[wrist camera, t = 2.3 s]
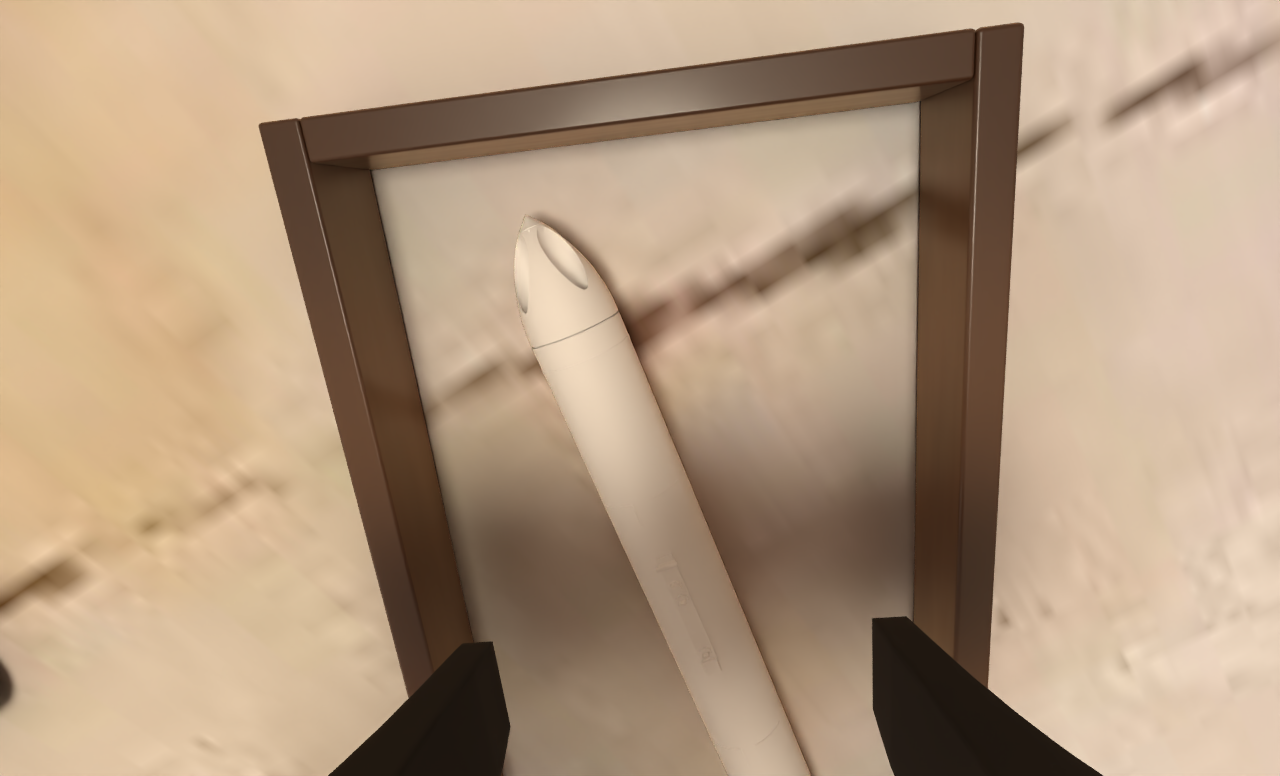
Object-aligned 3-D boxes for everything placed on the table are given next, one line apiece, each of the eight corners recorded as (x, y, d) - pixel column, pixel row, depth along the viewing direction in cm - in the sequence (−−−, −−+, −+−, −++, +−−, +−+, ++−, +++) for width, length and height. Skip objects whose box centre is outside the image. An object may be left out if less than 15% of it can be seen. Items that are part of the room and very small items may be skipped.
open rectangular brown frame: (936, 844, 19) (975, 938, 16) (497, 859, 20) (473, 949, 17) (960, 54, 13) (1027, 20, 10) (328, 136, 14) (256, 122, 11)
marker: (494, 231, 14) (461, 236, 12) (577, 195, 14) (559, 194, 12) (753, 805, 19) (765, 887, 16) (821, 787, 18) (842, 869, 16)
